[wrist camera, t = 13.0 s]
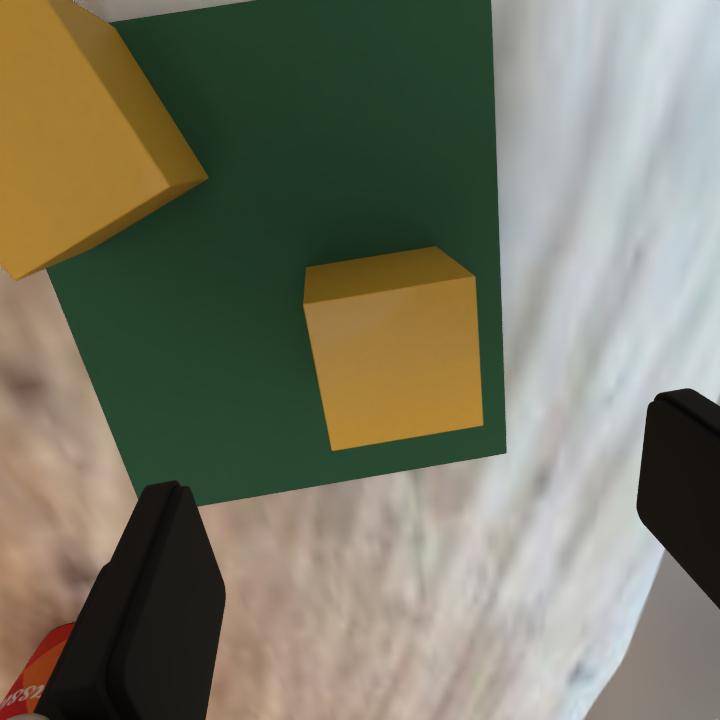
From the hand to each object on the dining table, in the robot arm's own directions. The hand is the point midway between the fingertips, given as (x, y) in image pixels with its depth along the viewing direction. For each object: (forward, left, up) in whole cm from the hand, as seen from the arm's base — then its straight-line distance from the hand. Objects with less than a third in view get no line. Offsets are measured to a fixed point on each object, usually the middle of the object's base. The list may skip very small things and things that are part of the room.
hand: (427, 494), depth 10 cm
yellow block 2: (+1, -1, -14) cm, 14 cm away
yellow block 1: (-9, +8, -14) cm, 19 cm away
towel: (-3, +1, -15) cm, 15 cm away
